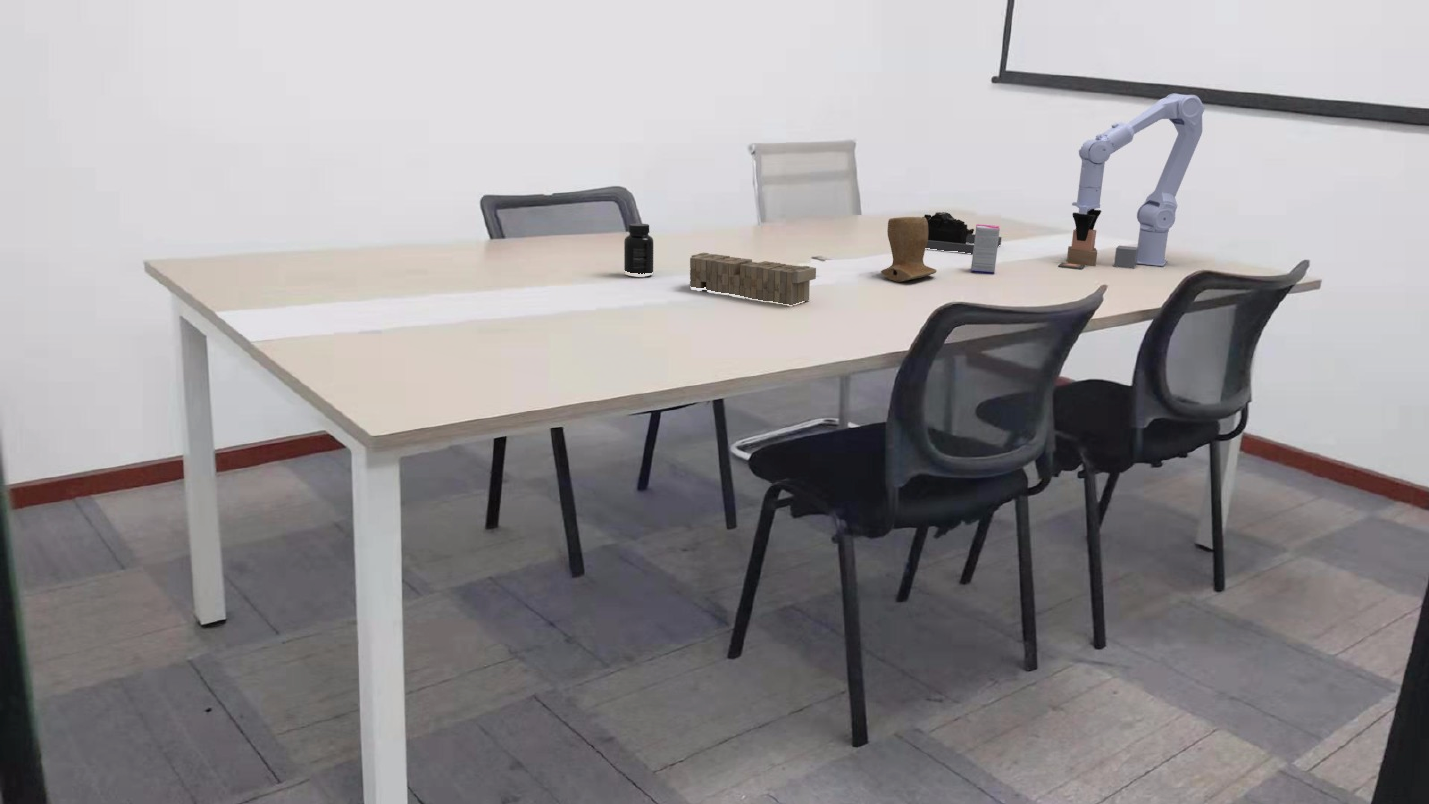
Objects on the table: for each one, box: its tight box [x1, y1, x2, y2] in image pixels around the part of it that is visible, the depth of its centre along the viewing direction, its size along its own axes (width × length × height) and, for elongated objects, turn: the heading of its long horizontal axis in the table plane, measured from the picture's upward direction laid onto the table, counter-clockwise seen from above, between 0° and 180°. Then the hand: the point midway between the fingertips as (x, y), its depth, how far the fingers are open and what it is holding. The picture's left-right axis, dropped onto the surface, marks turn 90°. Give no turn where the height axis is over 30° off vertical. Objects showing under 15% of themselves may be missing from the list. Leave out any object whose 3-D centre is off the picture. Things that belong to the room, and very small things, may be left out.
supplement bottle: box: [623, 222, 654, 274], centre depth 274 cm, size 7×7×12 cm
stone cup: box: [880, 216, 937, 282], centre depth 281 cm, size 15×12×15 cm
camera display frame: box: [926, 233, 1002, 255], centre depth 330 cm, size 20×24×2 cm
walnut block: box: [1066, 245, 1098, 267], centre depth 310 cm, size 7×7×4 cm
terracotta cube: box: [1070, 228, 1097, 251], centre depth 309 cm, size 5×5×5 cm
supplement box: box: [970, 223, 1000, 275], centre depth 292 cm, size 6×6×12 cm
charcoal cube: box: [1113, 245, 1139, 270], centre depth 307 cm, size 5×5×5 cm
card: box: [1057, 262, 1086, 270], centre depth 304 cm, size 5×6×1 cm
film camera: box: [923, 211, 975, 244], centre depth 328 cm, size 18×12×10 cm
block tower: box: [689, 252, 817, 305], centre depth 256 cm, size 8×8×29 cm
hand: (1083, 238), depth 309 cm, fingers open, 7 cm apart
